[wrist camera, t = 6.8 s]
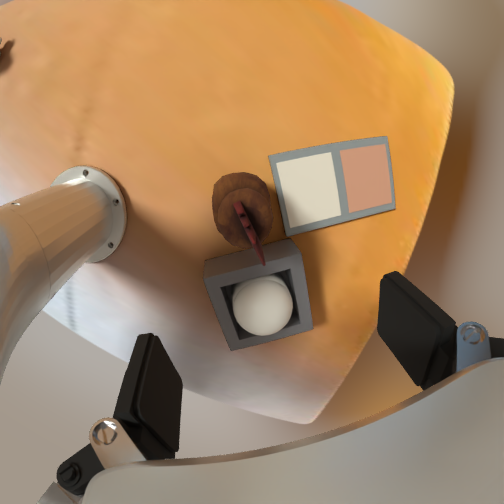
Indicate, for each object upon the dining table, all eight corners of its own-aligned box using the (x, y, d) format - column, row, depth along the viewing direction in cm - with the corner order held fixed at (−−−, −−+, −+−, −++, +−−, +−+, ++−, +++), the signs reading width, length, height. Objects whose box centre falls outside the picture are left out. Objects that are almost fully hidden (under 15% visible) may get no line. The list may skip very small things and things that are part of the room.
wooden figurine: (264, 223, 33) (295, 282, 19) (216, 227, 32) (213, 290, 18) (262, 167, 30) (296, 186, 16) (211, 171, 30) (202, 191, 16)
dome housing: (229, 327, 38) (230, 351, 33) (205, 260, 34) (202, 279, 29) (303, 308, 38) (313, 329, 33) (290, 237, 34) (301, 252, 29)
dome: (239, 318, 36) (243, 353, 30) (225, 274, 33) (226, 305, 27) (289, 305, 36) (303, 338, 30) (280, 260, 33) (294, 287, 27)
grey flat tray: (285, 235, 34) (287, 237, 33) (268, 155, 30) (269, 155, 29) (393, 207, 34) (395, 208, 33) (384, 136, 30) (387, 136, 29)
